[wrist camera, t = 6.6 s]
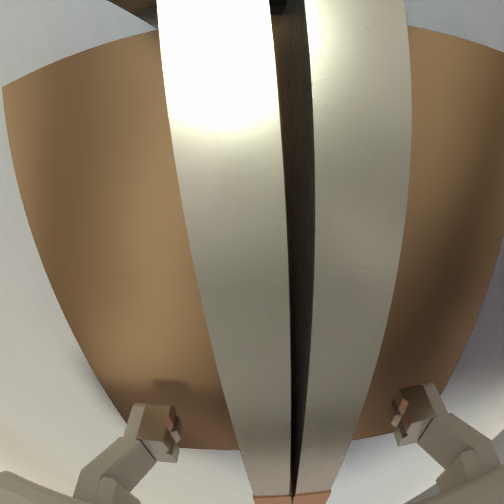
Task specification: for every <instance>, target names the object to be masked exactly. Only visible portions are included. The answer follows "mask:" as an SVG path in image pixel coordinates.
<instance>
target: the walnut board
mask: <svg viewBox="0 0 504 504" xmlns="http://www.w3.org/2000/svg"><path fill="white" fill-rule="evenodd" d="M270 18H271V28H272V37H273V47H274V57H275V68H276V79H277V90H278V102H279V114H280V127H281V141H282V156H283V171H284V188H285V206H286V225H287V247H288V273H289V239H288V206H287V180H286V158H285V139H284V121H283V105H282V90H281V76H280V62H279V50H278V38H277V29H278V26H279V23H280V20H281V18H282V15H270ZM407 30H408V40H409V52H410V67H411V93H412V131H411V157H410V173H409V186H408V197H407V207H406V216H405V224H404V232H403V239H402V246H401V253H400V259H399V265H398V271H397V276H396V282H395V287H394V292H393V297H392V302H391V306H390V311H389V316H388V320H387V324H386V328H385V333H384V337H383V341H382V344H381V348H380V352H379V356H378V359H377V363H376V367H375V370H374V373H373V377H372V380H371V383H370V387H369V390H368V393H367V396H366V399H365V402H364V405H363V408H362V411H361V414H360V417H359V420H358V423H357V425H356V428H355V431H354V434H353V436H352V439H351V440H357V439H363V438H368V437H374V436H379V435H383V434H388V433H393V432H394V431H395V429H396V427H395V426H393V425H392V424H391V422H390V419H389V406H390V403H391V401H393V400H394V399H395V398H394V393H395V391H396V390H397V389H402V388H406V387H410V386H415V385H419V384H424V383H428V382H433V383H434V384H435V386H436V388H437V390H438V392H439V395H441V394H442V392H443V390H444V388H445V386H446V384H447V383H448V381H449V379H450V377H451V375H452V373H453V371H454V369H455V367H456V365H457V363H458V361H459V358H460V356H461V354H462V352H463V350H464V348H465V345H466V343H467V341H468V338H469V336H470V334H471V331H472V329H473V327H474V324H475V322H476V319H477V317H478V314H479V311H480V309H481V306H482V303H483V300H484V298H485V295H486V292H487V289H488V286H489V283H490V280H491V277H492V273H493V270H494V267H495V263H496V260H497V256H498V252H499V249H500V245H501V241H502V237H503V233H504V53H503V52H500V51H497V50H495V49H492V48H489V47H486V46H483V45H480V44H477V43H474V42H471V41H468V40H465V39H461V38H458V37H454V36H451V35H447V34H443V33H439V32H435V31H431V30H427V29H422V28H417V27H413V26H407ZM2 92H3V102H4V111H5V119H6V126H7V132H8V138H9V144H10V150H11V155H12V160H13V164H14V169H15V174H16V178H17V182H18V186H19V190H20V194H21V198H22V202H23V205H24V209H25V212H26V216H27V219H28V222H29V225H30V229H31V232H32V235H33V238H34V241H35V244H36V247H37V249H38V252H39V255H40V258H41V260H42V263H43V266H44V268H45V271H46V274H47V276H48V279H49V281H50V284H51V286H52V288H53V291H54V293H55V295H56V298H57V300H58V302H59V304H60V307H61V309H62V311H63V313H64V315H65V318H66V320H67V322H68V324H69V326H70V328H71V330H72V332H73V334H74V336H75V338H76V340H77V342H78V344H79V346H80V348H81V349H82V351H83V353H84V355H85V357H86V359H87V361H88V362H89V364H90V366H91V368H92V369H93V371H94V373H95V375H96V376H97V378H98V380H99V381H100V383H101V385H102V386H103V388H104V390H105V391H106V393H107V394H108V396H109V398H110V399H111V401H112V402H113V404H114V405H115V407H116V408H117V410H118V412H119V413H120V414H121V416H122V417H123V419H124V420H125V422H126V423H128V419H129V416H130V413H131V410H132V407H133V405H134V404H135V403H143V404H153V405H167V406H174V407H175V409H176V415H177V416H178V417H180V420H181V423H182V436H181V439H180V440H179V441H178V442H177V445H178V447H179V448H193V449H217V450H240V449H239V446H238V442H237V439H236V435H235V432H234V429H233V425H232V421H231V418H230V414H229V411H228V407H227V403H226V400H225V396H224V392H223V389H222V385H221V381H220V377H219V373H218V369H217V365H216V361H215V357H214V353H213V349H212V345H211V341H210V337H209V332H208V328H207V324H206V320H205V315H204V311H203V306H202V302H201V297H200V293H199V288H198V283H197V279H196V274H195V269H194V264H193V259H192V254H191V249H190V244H189V239H188V234H187V228H186V223H185V217H184V212H183V206H182V201H181V195H180V189H179V183H178V177H177V171H176V164H175V158H174V151H173V144H172V138H171V131H170V123H169V116H168V108H167V100H166V92H165V84H164V75H163V66H162V56H161V46H160V35H159V30H155V31H150V32H146V33H142V34H138V35H134V36H130V37H127V38H123V39H120V40H116V41H113V42H110V43H106V44H103V45H100V46H97V47H94V48H91V49H88V50H85V51H82V52H80V53H77V54H74V55H72V56H69V57H66V58H64V59H61V60H59V61H57V62H54V63H52V64H49V65H47V66H45V67H43V68H40V69H38V70H36V71H34V72H32V73H29V74H27V75H25V76H23V77H21V78H19V79H17V80H15V81H13V82H11V83H9V84H8V85H6V86H4V87H2ZM289 305H290V292H289Z"/></svg>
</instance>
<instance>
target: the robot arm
mask: <svg viewBox="0 0 504 504" xmlns="http://www.w3.org/2000/svg"><path fill="white" fill-rule="evenodd" d="M394 398H395V399H394V400H393V401H391V403H390V406H389V419H390V422H391V424H392V425H393V426H395V427H396V429H395V431H394V435H395V439H396V442H397V445H398V447H399V446H403V445H407V444H412V443H416V442H417V444H419V445H420V446H421V447H422V448H423V449H424V450H425V451H426V452H427V453H428V454H429V455H430V456H431V457H432V458H434V459H435V460H436V461H437V462H438V463H439V464H440V465H441V466H442V467H443V468H444V469H445V471H444V472H443V473H442V474H441V475H440V476H439V477H438V478H437V479H436V482H437V486H438V489H439V493H436V494H433V495H430V496H428V497H425V498H422V499H418V500H415V501H412V502H409V503H405V504H504V464H502V465H501V463H500V461H499V459H498V456H497V453H496V451H495V449H494V446H493V444H492V442H491V440H490V439H489V438H487V437H486V436H484V435H483V434H481V433H480V432H478V431H477V430H475V429H474V428H472V427H471V426H470V425H468V424H467V423H465V422H464V421H462V420H461V419H459V418H458V417H456V416H455V415H453V414H452V413H449V414H448V412H447V410H446V408H445V406H444V403H443V401H442V399H441V397H440V395H439V392H438V390H437V388H436V386H435V384H434V383H433V382H428V383H424V384H419V385H415V386H410V387H406V388H402V389H397V390H396V391H395V393H394ZM181 436H182V423H181V420H180V417H178V416H177V415H176V409H175V407H174V406H167V405H153V404H143V403H135V404H134V405H133V407H132V410H131V413H130V416H129V419H128V423H127V426H126V429H125V433H124V436H123V437H119V438H118V439H117V440H116V441H115V442H114V443H112V444H111V445H110V446H109V447H108V448H107V449H105V450H104V451H103V452H102V453H101V454H100V455H98V456H97V457H96V458H95V459H94V460H92V461H91V462H90V463H89V464H88V465H86V466H85V467H84V468H83V469H82V470H81V472H80V475H79V478H78V482H77V485H76V488H75V491H74V495H73V497H70V496H68V495H65V494H62V493H59V492H56V491H54V490H51V489H49V488H46V487H44V486H41V485H39V484H36V483H34V482H32V481H29V480H27V479H25V478H23V477H21V476H18V475H16V474H14V473H12V472H9V471H3V472H1V473H0V504H140V503H141V502H140V501H139V499H137V498H136V497H135V496H134V495H132V494H131V493H130V492H131V490H132V489H133V488H134V487H135V486H136V485H137V484H138V483H139V482H140V480H141V479H142V478H143V477H144V476H145V475H146V474H147V473H148V471H149V470H150V469H151V468H152V467H153V466H154V465H155V463H156V461H160V462H172V463H177V460H178V454H179V447H178V445H177V442H178V441H179V440H180V439H181Z"/></svg>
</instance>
